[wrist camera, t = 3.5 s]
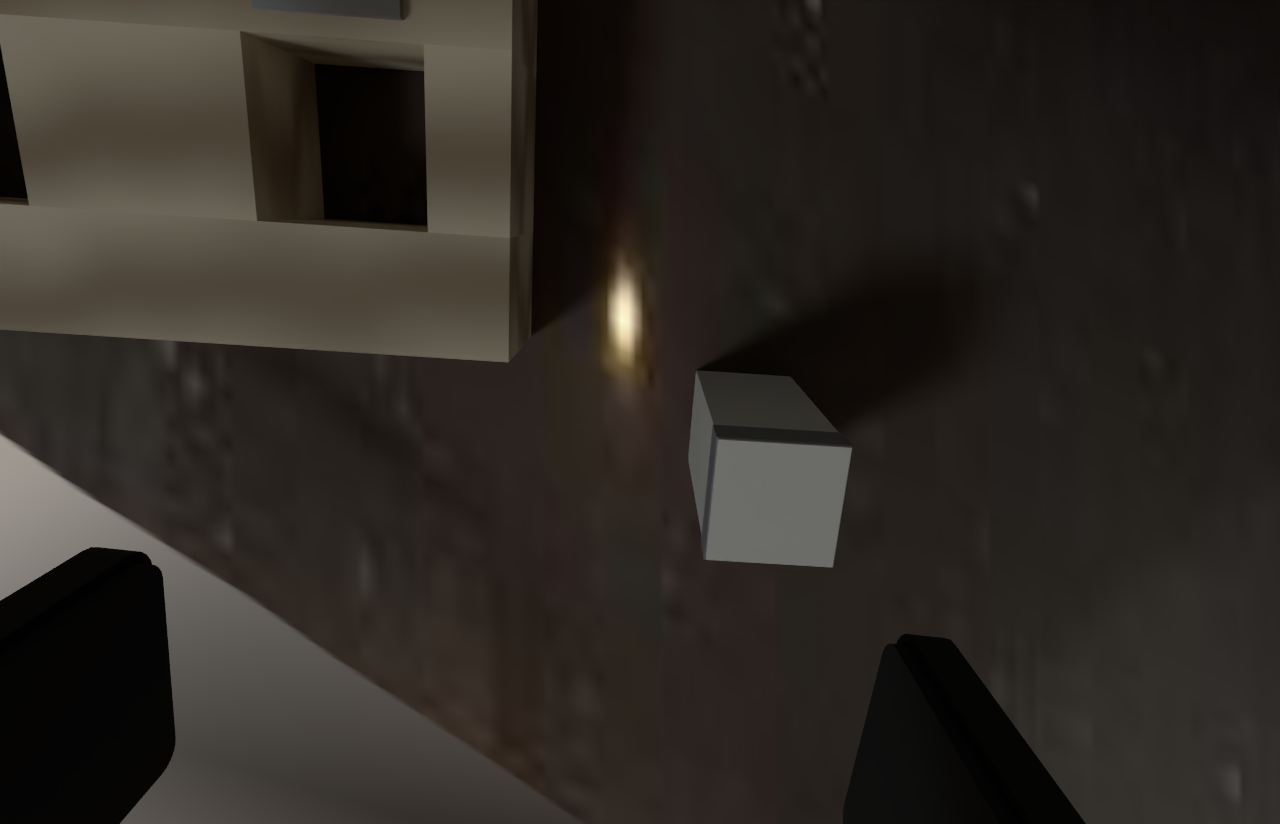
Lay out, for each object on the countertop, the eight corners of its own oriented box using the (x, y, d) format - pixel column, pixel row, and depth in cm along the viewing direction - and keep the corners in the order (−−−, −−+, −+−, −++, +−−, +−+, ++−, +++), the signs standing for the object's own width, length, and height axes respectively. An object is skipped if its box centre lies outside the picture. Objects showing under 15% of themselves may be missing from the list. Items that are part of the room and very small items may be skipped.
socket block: (-139, -99, 24) (-345, -179, 19) (538, -49, 25) (511, -115, 20) (-52, 298, 28) (-203, 318, 23) (530, 336, 29) (506, 364, 24)
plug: (695, 369, 29) (716, 437, 20) (791, 375, 29) (854, 446, 21) (687, 459, 30) (704, 561, 22) (779, 465, 30) (834, 568, 22)
